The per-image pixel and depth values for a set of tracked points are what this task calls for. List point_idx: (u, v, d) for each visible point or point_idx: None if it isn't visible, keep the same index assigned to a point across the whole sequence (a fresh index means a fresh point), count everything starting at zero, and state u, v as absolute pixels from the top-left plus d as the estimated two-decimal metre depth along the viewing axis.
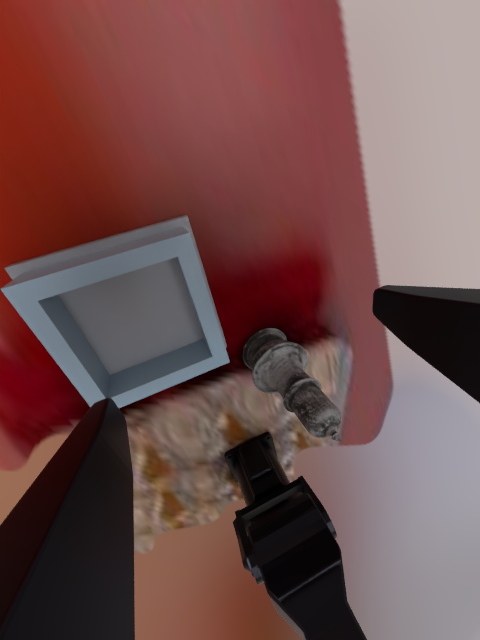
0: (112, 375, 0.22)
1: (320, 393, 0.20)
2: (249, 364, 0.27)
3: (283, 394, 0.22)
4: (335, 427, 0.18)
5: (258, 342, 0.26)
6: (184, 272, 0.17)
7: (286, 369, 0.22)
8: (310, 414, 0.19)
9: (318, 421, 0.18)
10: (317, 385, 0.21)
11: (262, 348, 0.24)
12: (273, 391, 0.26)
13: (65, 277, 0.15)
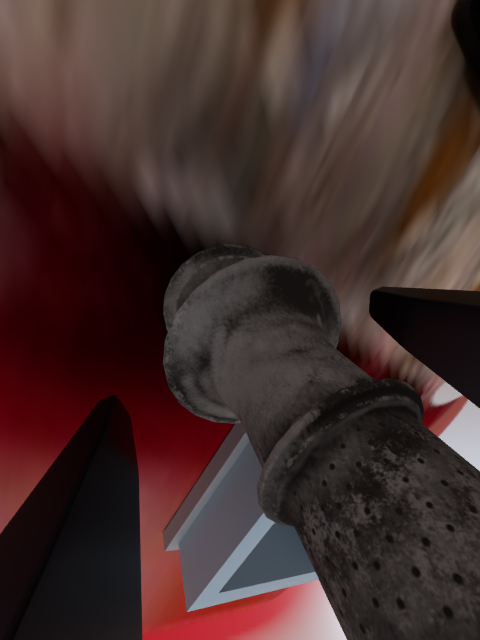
0: None
1: (332, 606, 0.03)
2: None
3: None
4: None
5: None
6: (227, 580, 0.13)
7: None
8: None
9: None
10: (282, 495, 0.04)
11: None
12: (331, 306, 0.08)
13: (295, 582, 0.17)
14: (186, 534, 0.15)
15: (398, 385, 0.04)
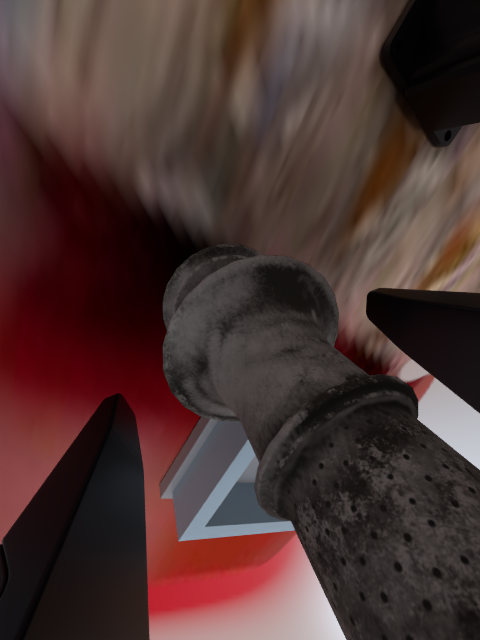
0: None
1: None
2: None
3: None
4: None
5: None
6: (212, 514, 0.16)
7: None
8: None
9: None
10: (278, 494, 0.04)
11: None
12: (326, 299, 0.08)
13: (273, 528, 0.19)
14: (179, 484, 0.18)
15: (387, 381, 0.04)
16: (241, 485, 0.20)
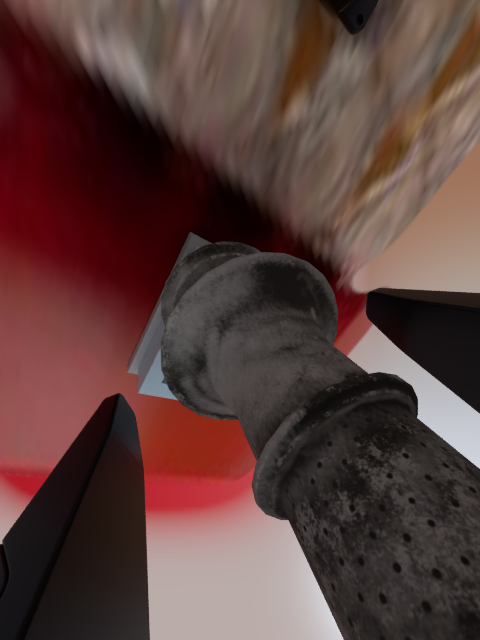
0: None
1: None
2: None
3: None
4: None
5: None
6: None
7: None
8: None
9: None
10: (276, 493, 0.04)
11: None
12: (325, 297, 0.08)
13: None
14: (143, 360, 0.21)
15: (386, 378, 0.04)
16: None
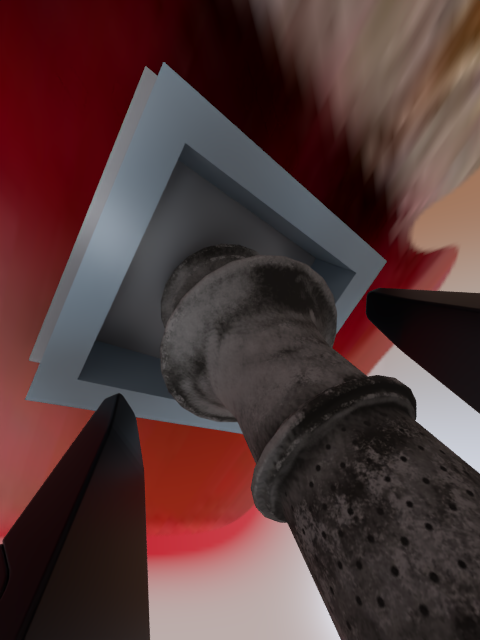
0: (314, 256, 0.14)
1: None
2: None
3: None
4: None
5: None
6: (86, 353, 0.09)
7: None
8: None
9: None
10: (275, 496, 0.04)
11: None
12: (325, 300, 0.08)
13: (219, 423, 0.12)
14: None
15: (384, 382, 0.04)
16: None
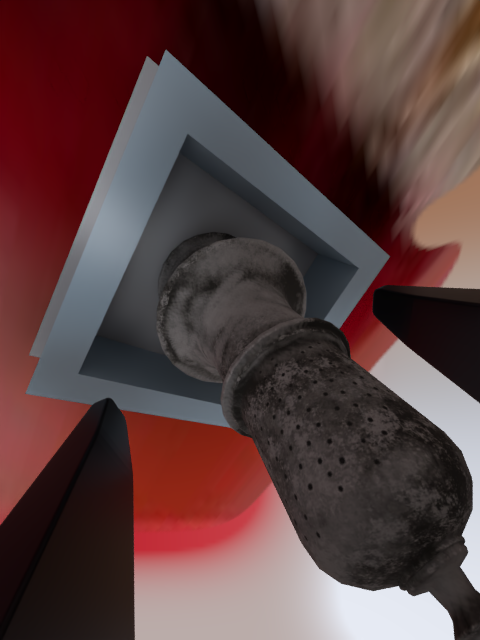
0: (316, 252, 0.14)
1: (267, 429, 0.05)
2: None
3: None
4: (430, 578, 0.03)
5: None
6: (87, 347, 0.09)
7: (216, 369, 0.08)
8: None
9: None
10: (259, 361, 0.05)
11: None
12: None
13: (220, 419, 0.12)
14: None
15: (348, 346, 0.07)
16: None
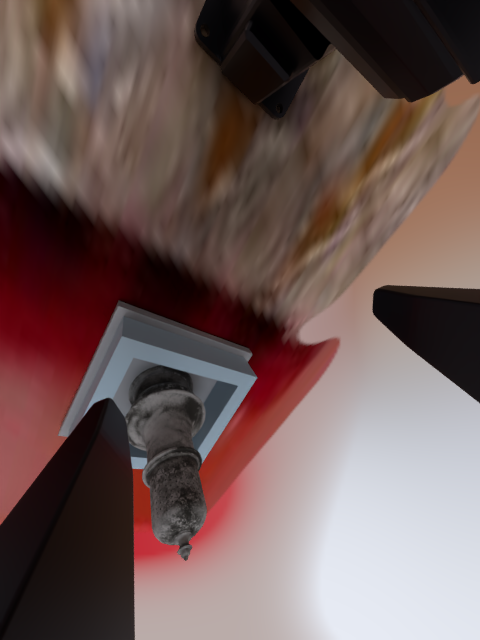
0: None
1: (151, 494, 0.14)
2: None
3: None
4: (176, 539, 0.12)
5: None
6: None
7: None
8: None
9: None
10: (154, 466, 0.15)
11: None
12: (201, 420, 0.20)
13: None
14: (74, 423, 0.20)
15: (197, 453, 0.16)
16: None
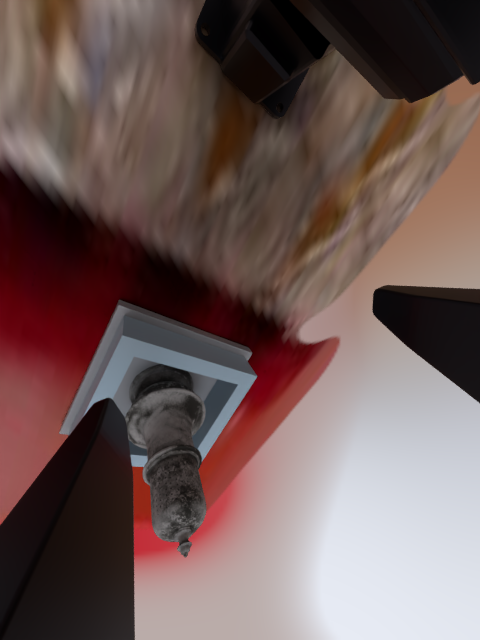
0: None
1: (151, 492, 0.14)
2: None
3: None
4: (176, 536, 0.13)
5: None
6: None
7: None
8: None
9: None
10: (154, 464, 0.15)
11: None
12: (201, 418, 0.20)
13: None
14: (75, 421, 0.20)
15: (197, 451, 0.16)
16: None
